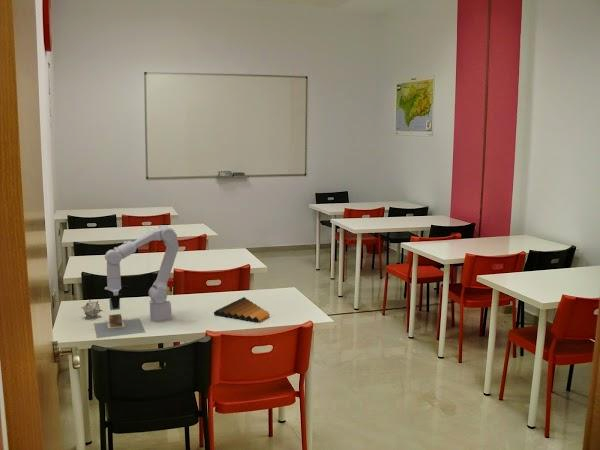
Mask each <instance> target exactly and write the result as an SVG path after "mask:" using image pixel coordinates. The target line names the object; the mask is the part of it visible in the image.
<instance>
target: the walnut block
mask: <svg viewBox="0 0 600 450" xmlns="http://www.w3.org/2000/svg"><path fill="white" fill-rule="evenodd" d="M122 320H123V316H122V315H121V313H118V314H117V313H116V314H110V315H109V314H108V322H109V324H110V327H117V326H122Z"/></svg>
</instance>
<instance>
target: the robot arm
mask: <svg viewBox="0 0 600 450" xmlns="http://www.w3.org/2000/svg"><path fill="white" fill-rule="evenodd" d="M151 241H158V242H160V241H162V242H163V244H164V246H165V247H166V248H165V251H164V255H163V258H162V261H161V263H160V267H159V270H158V274H157V277H156V279H155V281H154V282H153V284H152V286H151V287H150V288H149V289H148V296H149V298H150V300H149V313H150V314H149V316H150V318H149V319H150V321H151V322H155V323H159V322H165V321H172V320H173V319H172V305H171V301H170V300H167V297H168V294H167V293H168V281H169V279H170V277H171V276H170V275H171V273H172V270H173V266H174V264H175V260H176V257H177V254H178V252H179V251H178V250H179V248H180V246H179V241H178V234H177V233H176V231H175V230H174V229H173V228H171V227H169V226H167V225H166V224H164V225H163V224H162V225H158V227H154V228H153V229H152V230H150V231H148V232H146V233H145V234H144V235H141V236H140V237H139V238H137V239H135V240H133V241H131V240H128V241H127V240H125V241H123V243H122V244H121V245H118V246H115V247H113V249H108V251H106V252H105V255H104V259H105V261H106V283H107V286H105V287H104V290H106V292H107V294H108V296H109V299H111V302H112V306H113V309H117V308H118V307H119V301H120V300H121V297H122V295H123V293H122V292H121V291H122V290H121V289H122V280H121V279H122V278H121V276H122V275H121V265H120V264H121V262H122V260H124V259H126V258H127V257H129V256H131V255H133V254H134V253H136V251H137V249H138V248H140V247H141V246H144V245H146V244H148V243H150V242H151ZM120 302H121V301H120Z"/></svg>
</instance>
